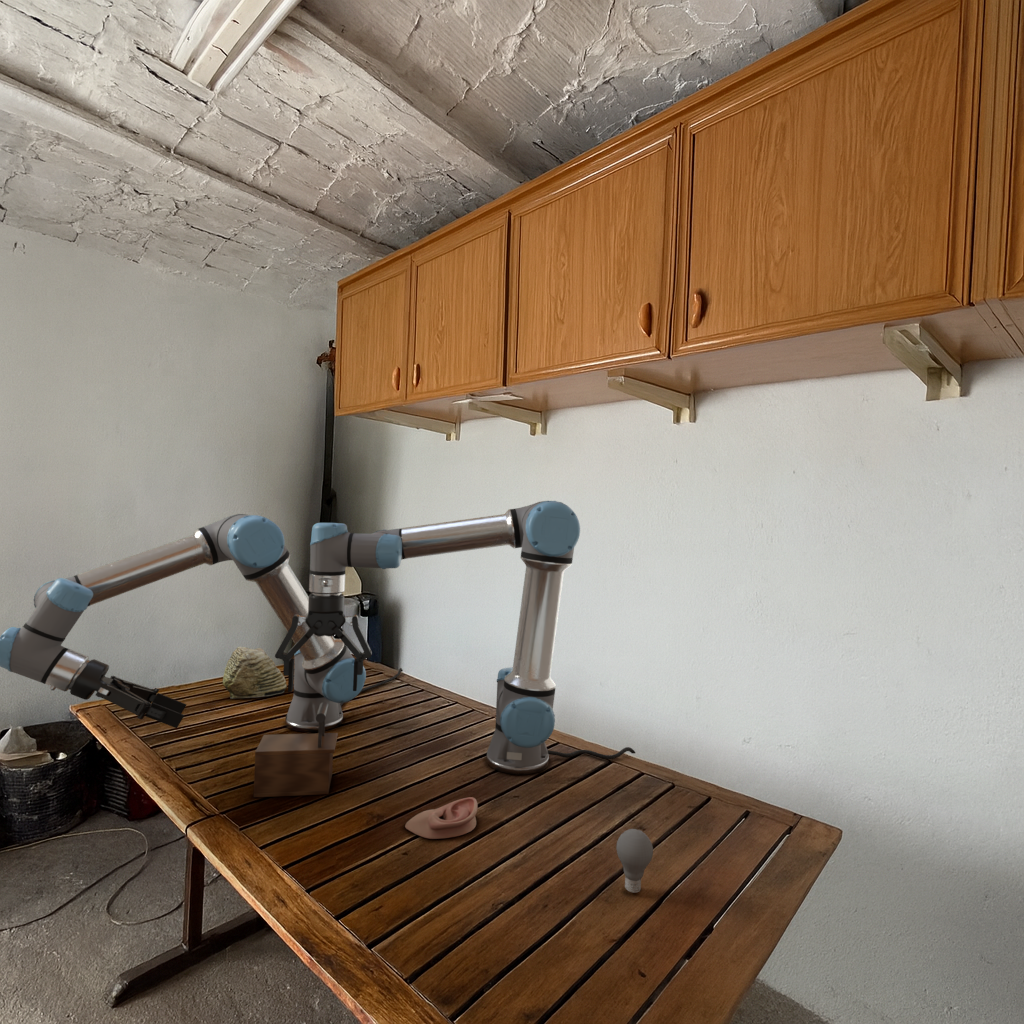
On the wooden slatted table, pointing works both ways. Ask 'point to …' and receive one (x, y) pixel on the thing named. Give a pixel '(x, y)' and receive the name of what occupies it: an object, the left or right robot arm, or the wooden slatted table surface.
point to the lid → (300, 740)
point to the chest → (292, 774)
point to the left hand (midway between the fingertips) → (182, 715)
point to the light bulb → (634, 857)
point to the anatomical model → (445, 820)
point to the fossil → (252, 674)
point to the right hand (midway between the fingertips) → (323, 689)
